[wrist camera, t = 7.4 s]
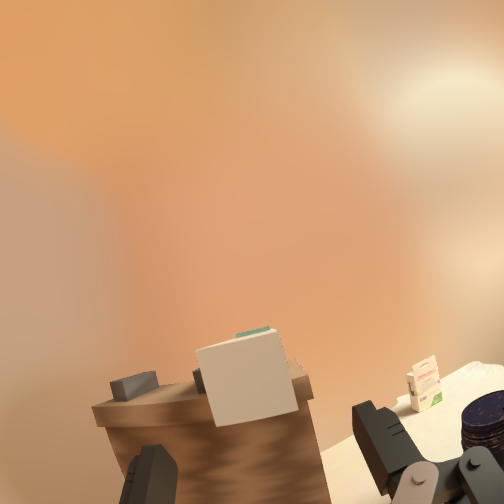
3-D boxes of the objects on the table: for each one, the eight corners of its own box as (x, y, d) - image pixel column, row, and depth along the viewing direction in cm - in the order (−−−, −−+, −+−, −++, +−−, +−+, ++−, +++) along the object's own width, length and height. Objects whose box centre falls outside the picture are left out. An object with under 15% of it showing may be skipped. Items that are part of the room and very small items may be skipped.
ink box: (434, 397, 61) (427, 353, 65) (442, 400, 57) (436, 354, 61) (410, 409, 61) (403, 364, 65) (418, 413, 57) (411, 366, 61)
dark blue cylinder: (448, 487, 23) (447, 418, 27) (488, 456, 24) (489, 387, 28) (482, 507, 13) (492, 431, 17) (524, 467, 14) (532, 391, 18)
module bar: (280, 358, 34) (272, 325, 35) (298, 410, 12) (276, 322, 13) (250, 365, 34) (241, 332, 35) (216, 426, 12) (193, 341, 13)
